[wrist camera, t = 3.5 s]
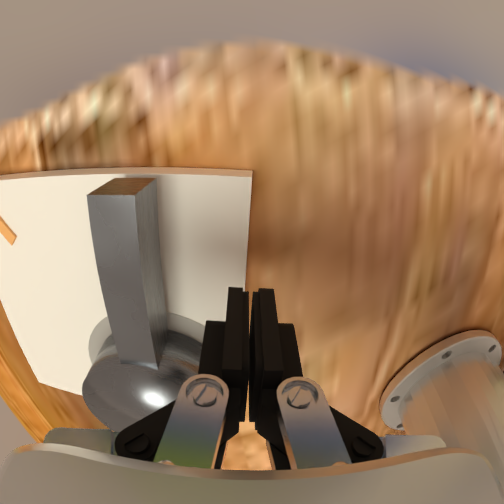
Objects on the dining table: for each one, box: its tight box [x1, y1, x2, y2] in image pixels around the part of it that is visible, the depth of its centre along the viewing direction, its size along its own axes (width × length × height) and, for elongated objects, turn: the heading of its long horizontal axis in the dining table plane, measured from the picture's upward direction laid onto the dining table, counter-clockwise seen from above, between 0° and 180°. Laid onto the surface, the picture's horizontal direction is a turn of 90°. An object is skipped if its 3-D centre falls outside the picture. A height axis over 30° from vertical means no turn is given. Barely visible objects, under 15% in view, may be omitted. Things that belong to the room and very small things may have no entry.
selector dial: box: [82, 178, 202, 432], centre depth 15 cm, size 18×9×3 cm, turn 176°
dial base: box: [0, 167, 252, 395], centre depth 18 cm, size 18×18×2 cm
